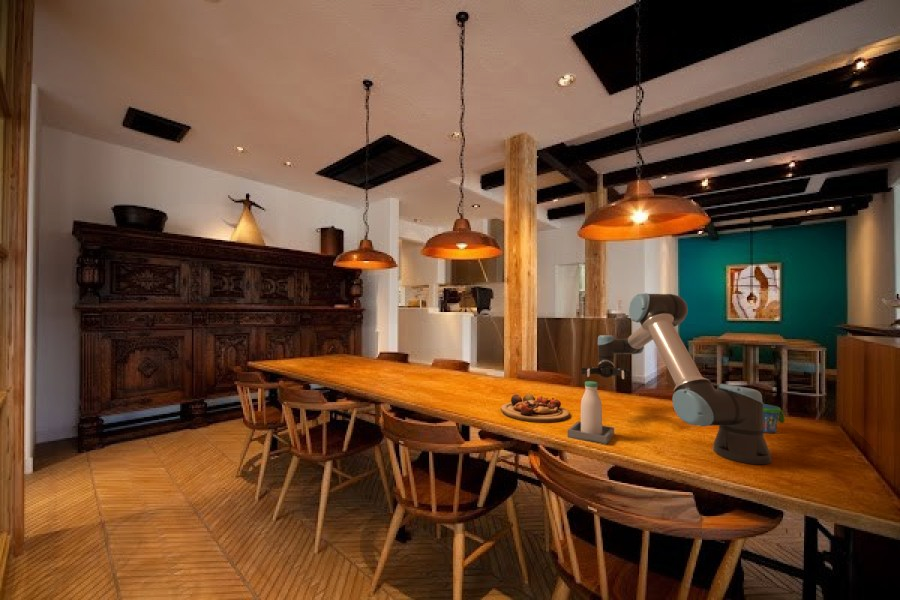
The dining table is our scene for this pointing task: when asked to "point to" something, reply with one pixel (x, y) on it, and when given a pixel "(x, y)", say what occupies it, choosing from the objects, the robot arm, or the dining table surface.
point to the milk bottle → (591, 410)
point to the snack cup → (771, 418)
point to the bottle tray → (603, 439)
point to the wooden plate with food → (535, 409)
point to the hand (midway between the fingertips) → (605, 374)
